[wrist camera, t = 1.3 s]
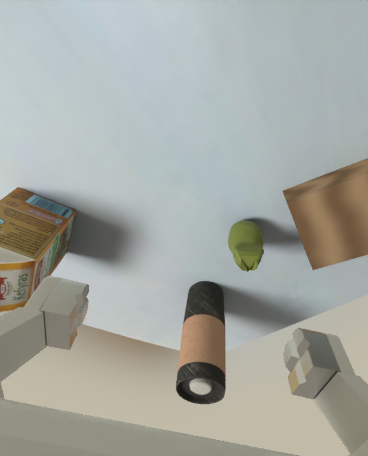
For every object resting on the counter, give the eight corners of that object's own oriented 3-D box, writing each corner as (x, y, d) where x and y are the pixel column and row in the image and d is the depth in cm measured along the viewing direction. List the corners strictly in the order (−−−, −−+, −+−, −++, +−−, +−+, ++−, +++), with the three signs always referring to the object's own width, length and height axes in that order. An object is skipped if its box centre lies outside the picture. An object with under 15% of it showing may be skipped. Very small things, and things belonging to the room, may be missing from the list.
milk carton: (67, 251, 58) (9, 332, 42) (14, 232, 57) (-66, 308, 41) (76, 210, 53) (14, 284, 37) (17, 187, 51) (-73, 254, 35)
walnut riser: (380, 153, 42) (393, 163, 39) (394, 228, 48) (407, 243, 45) (282, 191, 46) (287, 202, 43) (307, 255, 53) (312, 270, 49)
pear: (227, 240, 53) (228, 278, 44) (228, 214, 50) (230, 250, 42) (258, 241, 52) (266, 279, 44) (262, 215, 49) (270, 251, 41)
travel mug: (179, 291, 61) (164, 387, 44) (206, 274, 58) (201, 370, 41) (204, 311, 63) (199, 409, 47) (232, 295, 60) (237, 395, 43)
